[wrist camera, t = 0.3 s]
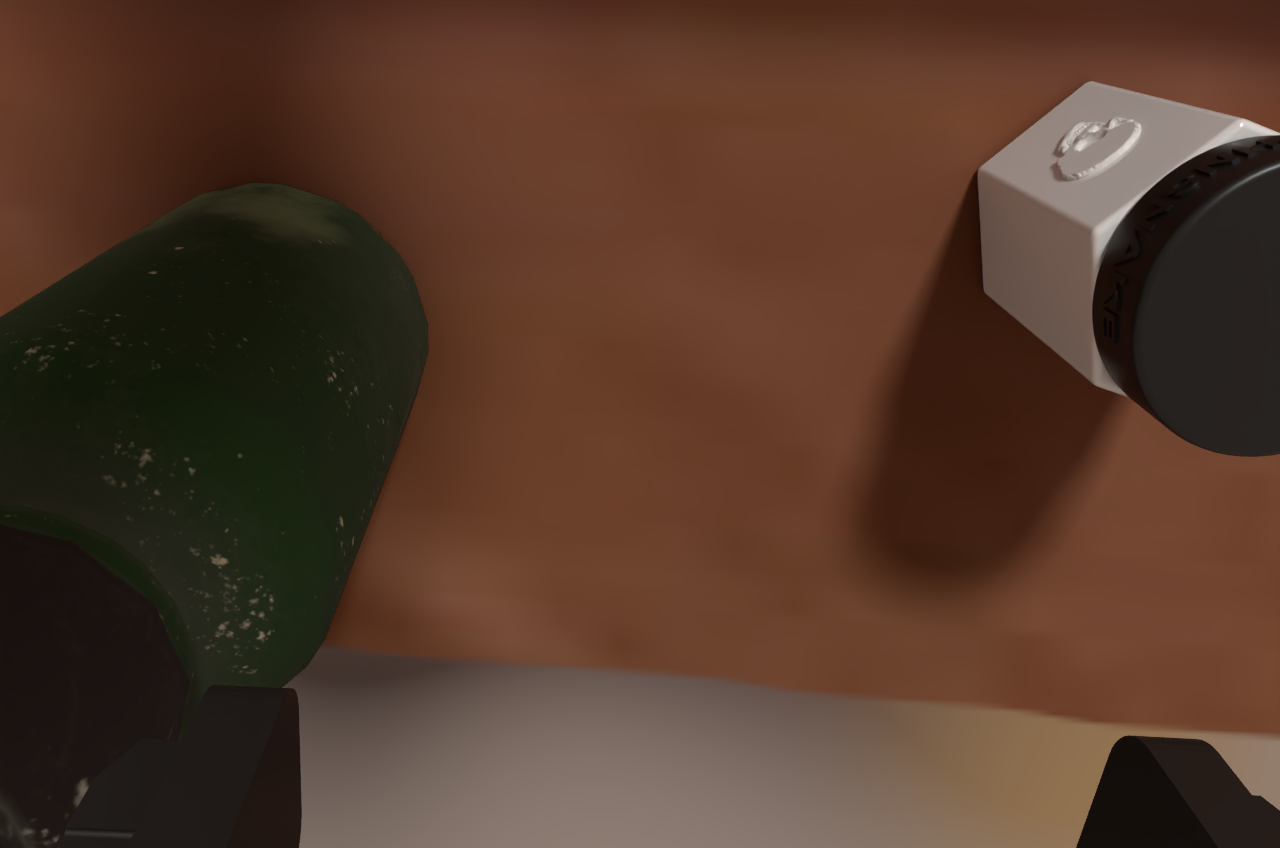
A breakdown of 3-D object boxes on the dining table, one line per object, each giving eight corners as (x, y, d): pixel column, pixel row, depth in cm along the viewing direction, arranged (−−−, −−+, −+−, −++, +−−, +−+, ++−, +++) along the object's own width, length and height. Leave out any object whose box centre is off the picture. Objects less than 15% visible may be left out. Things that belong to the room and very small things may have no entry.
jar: (1140, 28, 36) (1390, 61, 25) (1252, 213, 38) (1522, 317, 27) (919, 205, 38) (1058, 308, 27) (1040, 369, 40) (1212, 524, 29)
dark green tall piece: (112, 172, 36) (-723, 558, 13) (427, 188, 36) (169, 580, 14) (149, 454, 40) (-431, 1127, 17) (432, 463, 41) (241, 1120, 18)
